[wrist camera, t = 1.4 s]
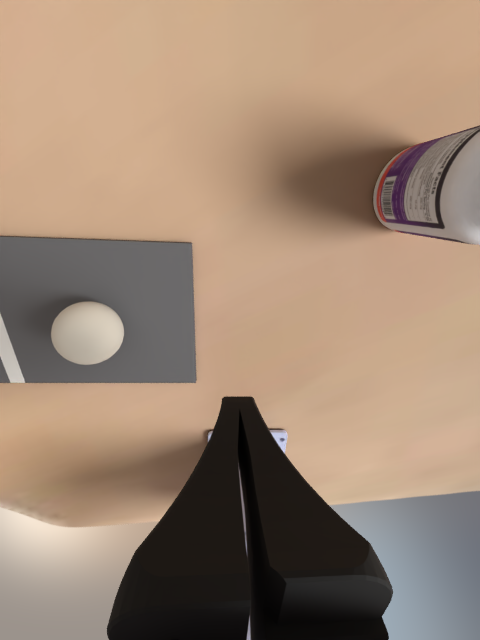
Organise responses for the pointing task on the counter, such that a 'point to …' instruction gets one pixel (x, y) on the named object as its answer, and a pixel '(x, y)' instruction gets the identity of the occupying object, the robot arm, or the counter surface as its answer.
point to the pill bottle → (433, 189)
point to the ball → (87, 333)
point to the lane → (103, 287)
